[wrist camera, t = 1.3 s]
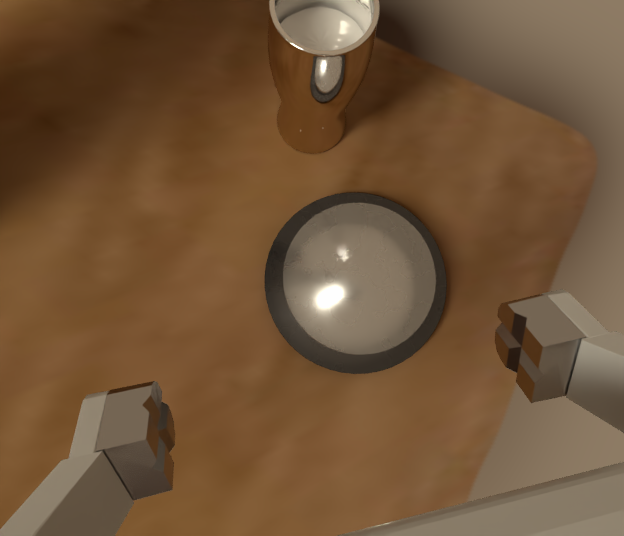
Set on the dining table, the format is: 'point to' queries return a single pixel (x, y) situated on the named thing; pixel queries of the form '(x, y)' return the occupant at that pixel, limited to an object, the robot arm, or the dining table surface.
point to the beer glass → (318, 65)
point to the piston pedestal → (355, 283)
